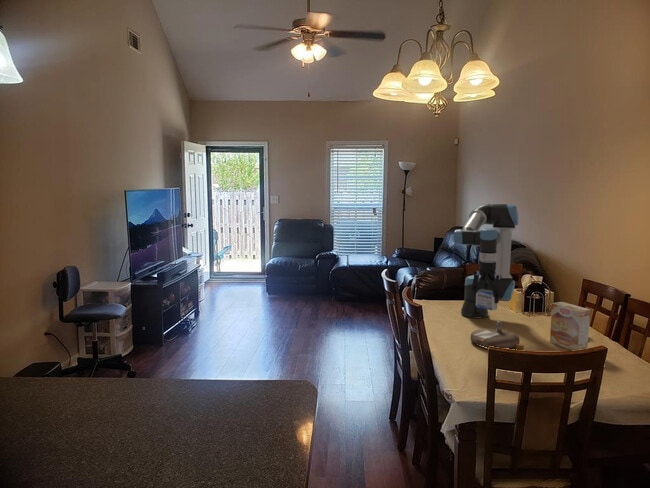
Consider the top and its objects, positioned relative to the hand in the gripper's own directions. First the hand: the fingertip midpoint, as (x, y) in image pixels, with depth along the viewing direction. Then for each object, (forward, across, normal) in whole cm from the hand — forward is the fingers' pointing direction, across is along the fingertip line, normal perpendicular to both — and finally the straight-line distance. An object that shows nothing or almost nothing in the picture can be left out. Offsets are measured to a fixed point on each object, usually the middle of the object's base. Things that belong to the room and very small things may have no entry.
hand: (486, 307), depth 217 cm
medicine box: (+1, 0, 0) cm, 1 cm away
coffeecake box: (+18, +27, +26) cm, 41 cm away
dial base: (+17, +7, +2) cm, 18 cm away
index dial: (+16, +4, +2) cm, 16 cm away
